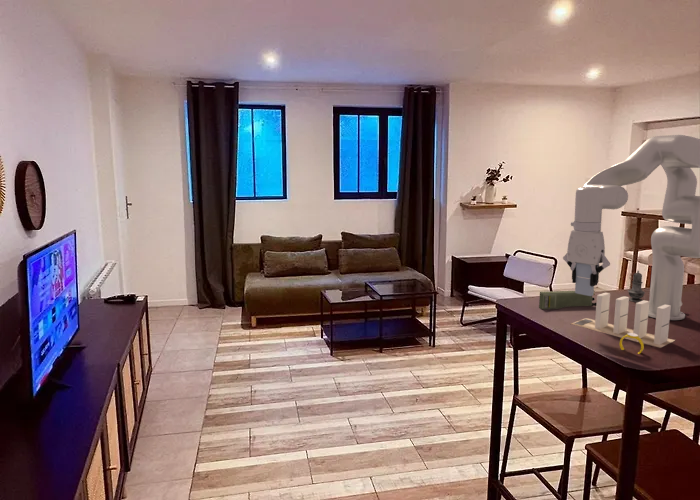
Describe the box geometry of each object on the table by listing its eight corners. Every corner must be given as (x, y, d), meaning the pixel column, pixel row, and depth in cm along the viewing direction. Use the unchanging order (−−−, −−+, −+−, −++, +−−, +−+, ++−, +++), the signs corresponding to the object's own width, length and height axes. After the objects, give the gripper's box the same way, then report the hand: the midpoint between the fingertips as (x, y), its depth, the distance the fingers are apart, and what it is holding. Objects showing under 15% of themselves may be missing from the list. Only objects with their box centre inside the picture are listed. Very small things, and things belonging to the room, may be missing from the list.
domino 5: (653, 343, 149) (656, 307, 147) (661, 339, 152) (664, 304, 150) (659, 344, 147) (663, 308, 145) (667, 340, 150) (671, 305, 148)
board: (585, 320, 173) (586, 317, 173) (675, 342, 151) (675, 339, 151) (569, 326, 168) (569, 323, 167) (660, 350, 145) (660, 347, 145)
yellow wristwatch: (643, 356, 142) (646, 336, 141) (640, 358, 140) (643, 339, 139) (620, 349, 146) (623, 330, 145) (617, 351, 144) (620, 332, 143)
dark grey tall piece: (646, 302, 192) (649, 272, 190) (630, 302, 194) (632, 272, 192) (641, 298, 198) (643, 269, 196) (625, 298, 199) (627, 268, 197)
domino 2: (594, 327, 163) (596, 295, 161) (602, 324, 166) (605, 292, 164) (599, 329, 162) (602, 296, 160) (607, 325, 165) (610, 293, 163)
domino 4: (632, 337, 153) (635, 303, 152) (640, 334, 156) (643, 300, 155) (638, 339, 152) (641, 304, 150) (646, 335, 155) (649, 301, 153)
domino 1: (577, 292, 161) (579, 258, 159) (593, 295, 157) (595, 260, 155) (574, 293, 160) (576, 259, 158) (590, 296, 156) (592, 261, 154)
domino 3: (613, 332, 158) (615, 299, 156) (621, 329, 161) (623, 296, 159) (618, 334, 157) (621, 300, 155) (626, 330, 160) (629, 297, 158)
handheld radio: (537, 307, 190) (602, 305, 190) (541, 310, 187) (607, 308, 187) (539, 290, 188) (604, 288, 189) (542, 293, 185) (608, 291, 186)
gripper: (555, 225, 159) (553, 281, 163) (608, 231, 146) (605, 291, 149) (568, 223, 163) (566, 277, 167) (621, 228, 150) (618, 286, 153)
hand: (584, 283), depth 158 cm, fingers closed on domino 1, 5 cm apart
